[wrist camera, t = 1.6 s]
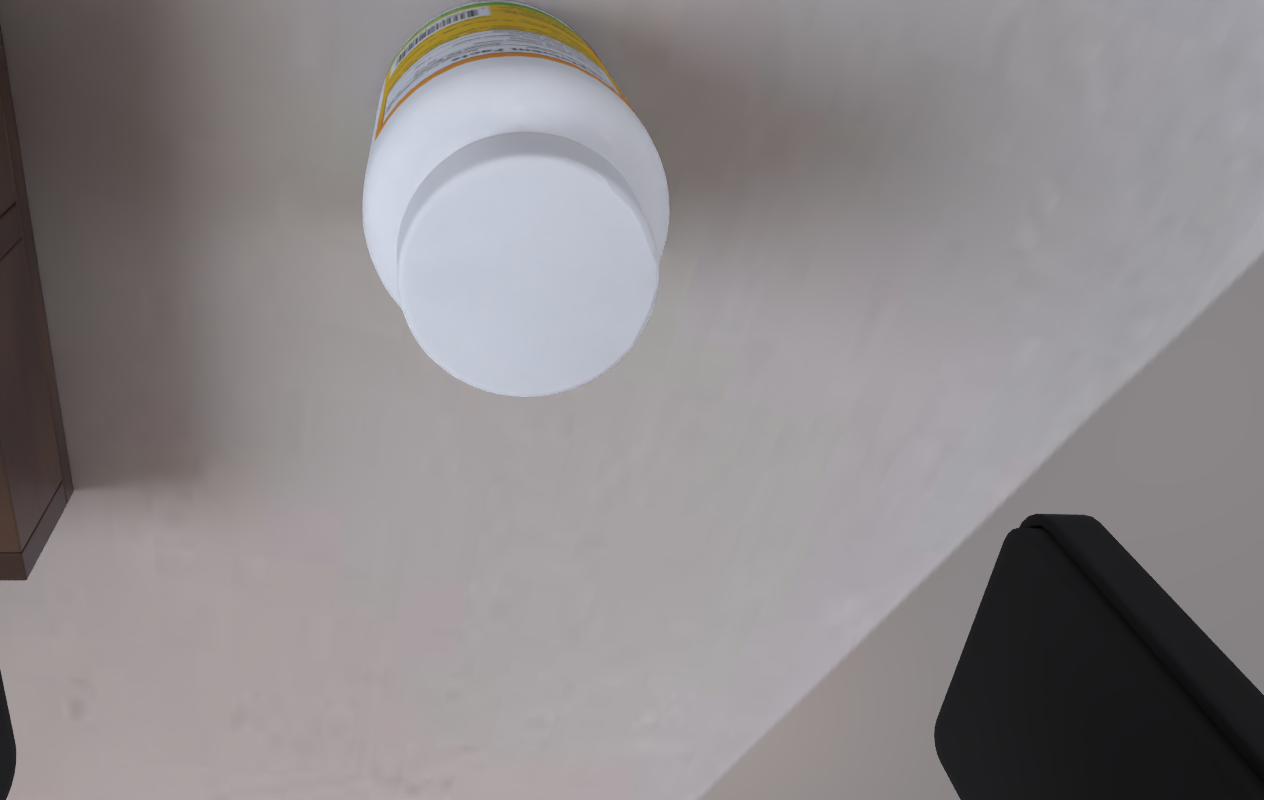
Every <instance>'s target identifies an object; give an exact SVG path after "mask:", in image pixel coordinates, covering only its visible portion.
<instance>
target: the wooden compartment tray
mask: <svg viewBox="0 0 1264 800" xmlns="http://www.w3.org/2000/svg"><path fill="white" fill-rule="evenodd" d="M72 494H73V486H72V480H71V473H70V467H69V461H68V454H67V448H66V442H65V435H64V429H63V422H62V416H61V410H60V403H59V397H58V390H57V384H56V378H55V371H54V365H53V359H52V352H51V346H50V339H49V333H48V327H47V320H46V314H45V308H44V301H43V295H42V288H41V282H40V276H39V269H38V263H37V257H36V250H35V244H34V237H33V231H32V225H31V218H30V212H29V206H28V199H27V193H26V186H25V180H24V174H23V167H22V161H21V155H20V148H19V142H18V135H17V129H16V123H15V116H14V110H13V103H12V97H11V91H10V84H9V78H8V72H7V65H6V59H5V52H4V46H3V40H2V33H1V27H0V580H27V578H28V576H29V574H30V573H31V571H32V569H33V567H34V565H35V563H36V561H37V560H38V558H39V556H40V554H41V552H42V550H43V548H44V546H45V545H46V543H47V541H48V539H49V537H50V535H51V533H52V531H53V530H54V528H55V526H56V524H57V522H58V520H59V518H60V516H61V515H62V513H63V511H64V509H65V507H66V504H67V503H68V501H69V499H70V497H71V495H72Z"/></svg>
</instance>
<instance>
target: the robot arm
mask: <svg viewBox="0 0 1264 800" xmlns="http://www.w3.org/2000/svg"><path fill="white" fill-rule="evenodd" d="M934 738H935V746H936V751H937V755H938V757H939V759H940V762H941V764H942V766H943V767H944V769H945V771H946V773H947V775H948V777H949V778H950V781H951V782H952V784H953V786H954V788H955V790H956V792H957V794H958V796H959V797H960V799H961V800H1264V695H1263V694H1262V693H1261V692H1260V691H1259V690H1258V689H1257V688H1256V687H1255V686H1254V685H1253V684H1252V682H1251V681H1250V680H1249V679H1248V678H1247V677H1246V676H1245V675H1244V674H1243V673H1242V672H1241V671H1240V670H1239V669H1238V668H1237V667H1236V666H1235V665H1234V663H1233V662H1232V661H1231V660H1230V659H1229V658H1228V657H1227V656H1226V655H1225V654H1224V653H1223V652H1222V651H1221V650H1220V649H1219V648H1218V647H1217V646H1216V645H1215V644H1214V643H1213V642H1212V640H1211V639H1210V638H1209V637H1208V636H1207V635H1206V634H1205V633H1204V632H1203V631H1202V630H1201V629H1200V628H1199V627H1198V626H1197V624H1196V623H1194V621H1193V620H1192V619H1191V618H1190V617H1189V616H1188V615H1187V614H1186V613H1185V612H1184V611H1183V610H1182V609H1181V608H1180V607H1179V606H1178V604H1177V603H1176V602H1175V601H1174V600H1173V599H1172V598H1171V597H1170V596H1169V595H1168V594H1167V593H1166V592H1165V591H1164V590H1163V589H1162V588H1161V586H1160V585H1159V584H1158V583H1157V582H1156V581H1155V580H1154V579H1153V578H1152V577H1151V576H1150V575H1149V574H1148V573H1147V572H1146V571H1145V570H1144V569H1143V568H1142V567H1141V565H1140V564H1139V563H1138V562H1137V561H1136V560H1135V559H1134V558H1133V557H1132V556H1131V555H1130V554H1129V553H1128V552H1127V551H1126V550H1125V549H1124V547H1123V546H1122V545H1121V544H1120V543H1119V542H1118V541H1117V540H1116V539H1115V538H1114V537H1113V536H1112V535H1111V534H1110V533H1109V532H1108V531H1107V530H1106V528H1105V527H1104V526H1103V525H1102V524H1101V523H1100V522H1098V521H1097V520H1096V519H1094V518H1093V517H1091V516H1086V515H1064V514H1035V515H1031V516H1028V517H1027V518H1026V520H1024V521H1023V522H1022V524H1021V525H1020V527H1019V528H1016V529H1013V530H1012V531H1011V532H1009V533H1008V535H1007V536H1006V538H1005V540H1004V543H1003V545H1002V548H1001V551H1000V553H999V556H998V558H997V561H996V564H995V566H994V569H993V572H992V574H991V577H990V580H989V582H988V585H987V588H986V590H985V593H984V596H983V598H982V601H981V603H980V606H979V609H978V611H977V614H976V617H975V620H974V622H973V625H972V627H971V630H970V633H969V635H968V638H967V641H966V643H965V646H964V649H963V651H962V654H961V657H960V660H959V662H958V665H957V667H956V670H955V673H954V676H953V678H952V681H951V683H950V686H949V688H948V691H947V694H946V696H945V699H944V702H943V704H942V707H941V710H940V712H939V715H938V718H937V721H936V725H935V733H934ZM15 766H16V745H15V739H14V735H13V730H12V725H11V720H10V715H9V710H8V705H7V700H6V696H5V691H4V686H3V681H2V676H1V671H0V800H6V798H7V796H8V793H9V791H10V788H11V785H12V781H13V777H14V773H15Z"/></svg>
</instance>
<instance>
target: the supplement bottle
mask: <svg viewBox="0 0 1264 800" xmlns="http://www.w3.org/2000/svg"><path fill="white" fill-rule="evenodd" d="M362 211H363V227H364V233H365V238H366V243H367V247H368V250H369V253H370V256H371V259H372V262H373V264H374V266H375V269H376V271H377V273H378V275H379V277H380V279H381V281H382V283H383V285H384V286H385V288H386V289H387V291H388V292H389V294H390V295H391V296H392V298H393V299H394V300H395V302H396V303H397V304H398V305H399V306H400V307H401V308H402V311H403V314H404V316H405V318H406V321H407V323H408V326H409V328H410V330H411V332H412V334H413V335H414V337H415V338H416V340H417V342H418V343H419V345H420V346H421V347H422V348H423V350H424V351H425V352H426V353H427V354H428V356H429V357H430V358H431V359H432V360H433V361H435V362H436V363H437V364H438V365H439V366H440V367H442V368H443V369H444V370H445V371H447V372H448V373H450V374H451V375H452V376H454V377H456V378H457V379H459V380H461V381H462V382H464V383H467V384H469V385H471V386H474V387H476V388H479V389H481V390H484V391H487V392H490V393H495V394H500V395H506V396H515V397H537V396H546V395H552V394H556V393H560V392H564V391H568V390H571V389H574V388H576V387H579V386H581V385H583V384H585V383H587V382H589V381H591V380H593V379H595V378H597V377H598V376H600V375H602V374H603V373H605V372H606V371H607V370H609V369H610V368H611V367H613V366H614V365H615V364H616V363H618V362H619V361H620V360H621V359H622V358H623V357H624V356H625V355H626V354H627V352H628V351H629V350H630V349H631V348H632V346H633V345H634V344H635V343H636V341H637V340H638V339H639V337H640V335H641V334H642V332H643V330H644V328H645V326H646V324H647V323H648V321H649V319H650V316H651V313H652V310H653V308H654V304H655V300H656V297H657V292H658V285H659V262H660V260H661V258H662V254H663V250H664V246H665V243H666V239H667V233H668V226H669V217H670V209H669V192H668V186H667V180H666V175H665V172H664V169H663V165H662V162H661V159H660V157H659V154H658V152H657V150H656V147H655V146H654V144H653V142H652V140H651V138H650V136H649V134H648V132H647V131H646V129H645V127H644V125H643V124H642V122H641V121H640V119H639V118H638V116H637V115H636V113H635V112H634V110H633V109H632V108H631V106H630V105H629V103H628V102H627V100H626V99H625V97H624V96H623V94H622V93H621V91H620V90H619V88H618V87H617V85H616V84H615V82H614V81H613V79H612V78H611V76H610V74H609V73H608V71H607V70H606V68H605V67H604V65H603V64H602V62H601V61H600V59H599V58H598V56H597V55H596V54H595V52H594V51H593V50H592V49H591V47H590V46H589V45H588V44H587V43H586V42H585V41H584V40H583V39H582V38H581V37H580V36H579V35H578V34H577V33H576V32H575V31H574V30H573V29H571V28H570V27H569V26H567V25H566V24H565V23H563V22H562V21H560V20H559V19H557V18H556V17H554V16H552V15H550V14H548V13H546V12H544V11H542V10H540V9H538V8H535V7H532V6H529V5H526V4H522V3H517V2H512V1H503V0H494V1H479V2H473V3H468V4H464V5H461V6H458V7H455V8H452V9H449V10H447V11H445V12H443V13H441V14H439V15H437V16H435V17H434V18H432V19H431V20H429V21H428V22H426V23H425V24H424V25H422V26H421V27H420V28H419V29H418V30H417V31H416V32H415V33H413V34H412V35H411V37H410V38H409V39H408V40H407V41H406V42H405V43H404V45H403V46H402V47H401V49H400V50H399V52H398V53H397V55H396V56H395V58H394V60H393V62H392V64H391V66H390V68H389V70H388V73H387V75H386V78H385V81H384V84H383V87H382V91H381V95H380V100H379V104H378V110H377V116H376V121H375V127H374V132H373V137H372V143H371V148H370V154H369V159H368V164H367V169H366V174H365V181H364V189H363V205H362Z"/></svg>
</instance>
